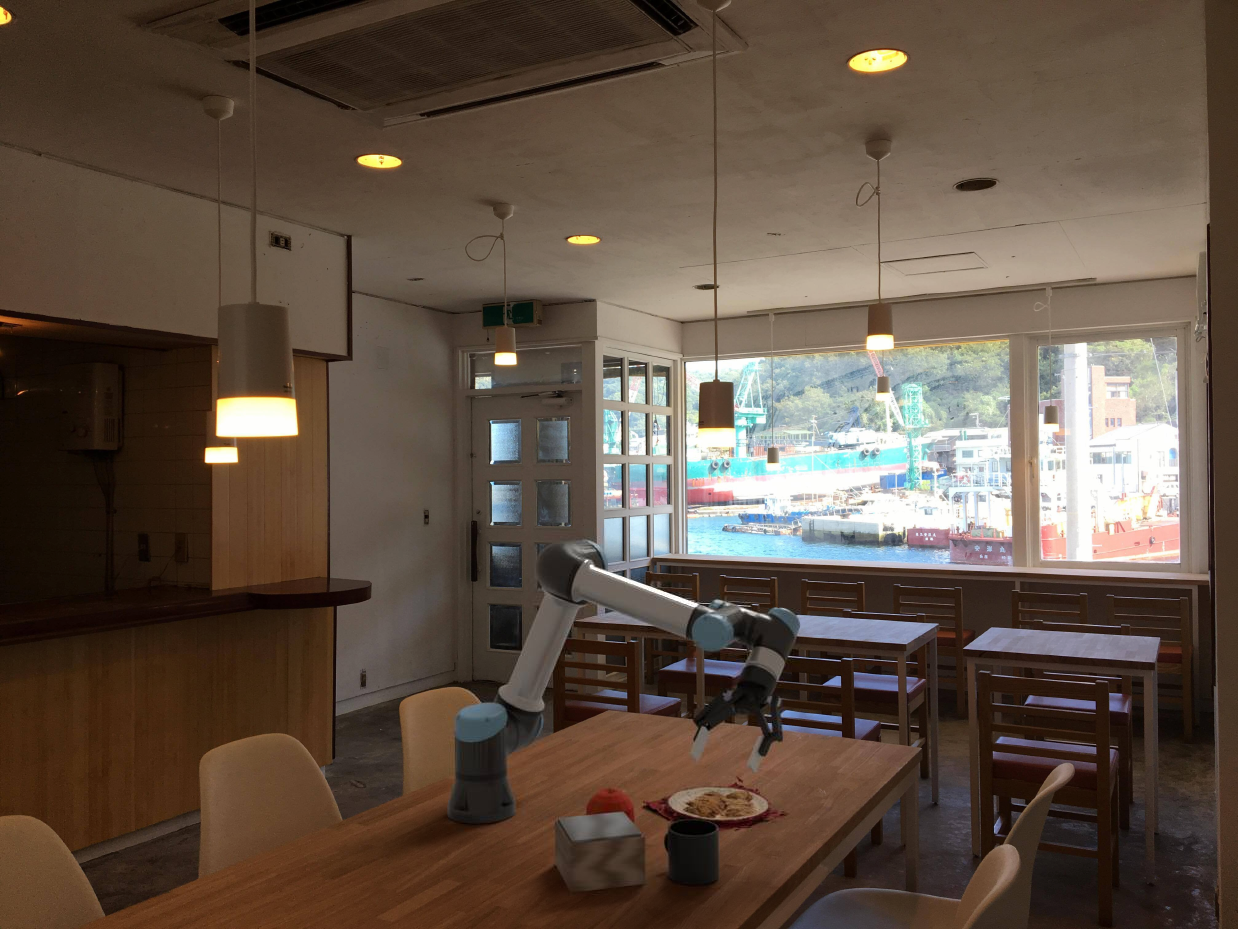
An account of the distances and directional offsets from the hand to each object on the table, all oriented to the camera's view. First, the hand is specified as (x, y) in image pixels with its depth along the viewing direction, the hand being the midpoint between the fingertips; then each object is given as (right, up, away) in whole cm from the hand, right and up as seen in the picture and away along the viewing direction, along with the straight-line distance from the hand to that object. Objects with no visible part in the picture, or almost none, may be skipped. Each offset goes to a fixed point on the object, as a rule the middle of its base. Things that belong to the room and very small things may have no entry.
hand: (721, 763), depth 194 cm
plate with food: (+3, -20, +28) cm, 35 cm away
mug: (-7, -18, -9) cm, 21 cm away
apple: (-22, -19, +8) cm, 30 cm away
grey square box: (-24, -18, -8) cm, 31 cm away
